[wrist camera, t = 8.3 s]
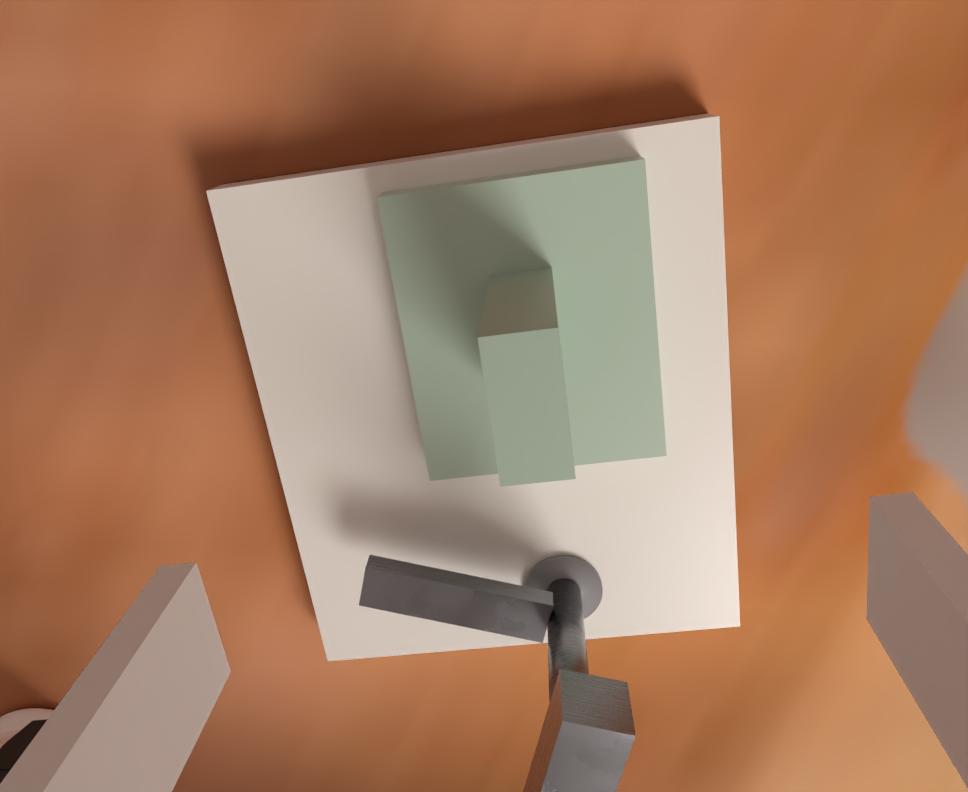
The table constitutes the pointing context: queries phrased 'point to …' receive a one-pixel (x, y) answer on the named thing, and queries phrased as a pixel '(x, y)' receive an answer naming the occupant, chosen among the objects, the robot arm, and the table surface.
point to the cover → (529, 319)
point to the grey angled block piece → (572, 691)
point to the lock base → (394, 422)
